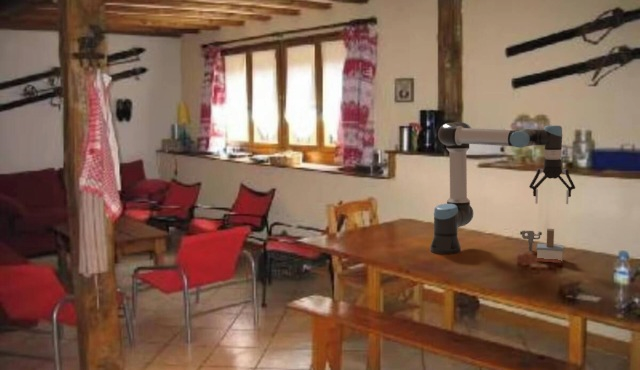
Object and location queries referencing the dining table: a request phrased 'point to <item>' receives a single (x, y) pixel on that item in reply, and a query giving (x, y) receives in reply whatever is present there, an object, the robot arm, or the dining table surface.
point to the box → (549, 254)
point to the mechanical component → (530, 237)
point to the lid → (550, 243)
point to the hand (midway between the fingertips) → (551, 203)
